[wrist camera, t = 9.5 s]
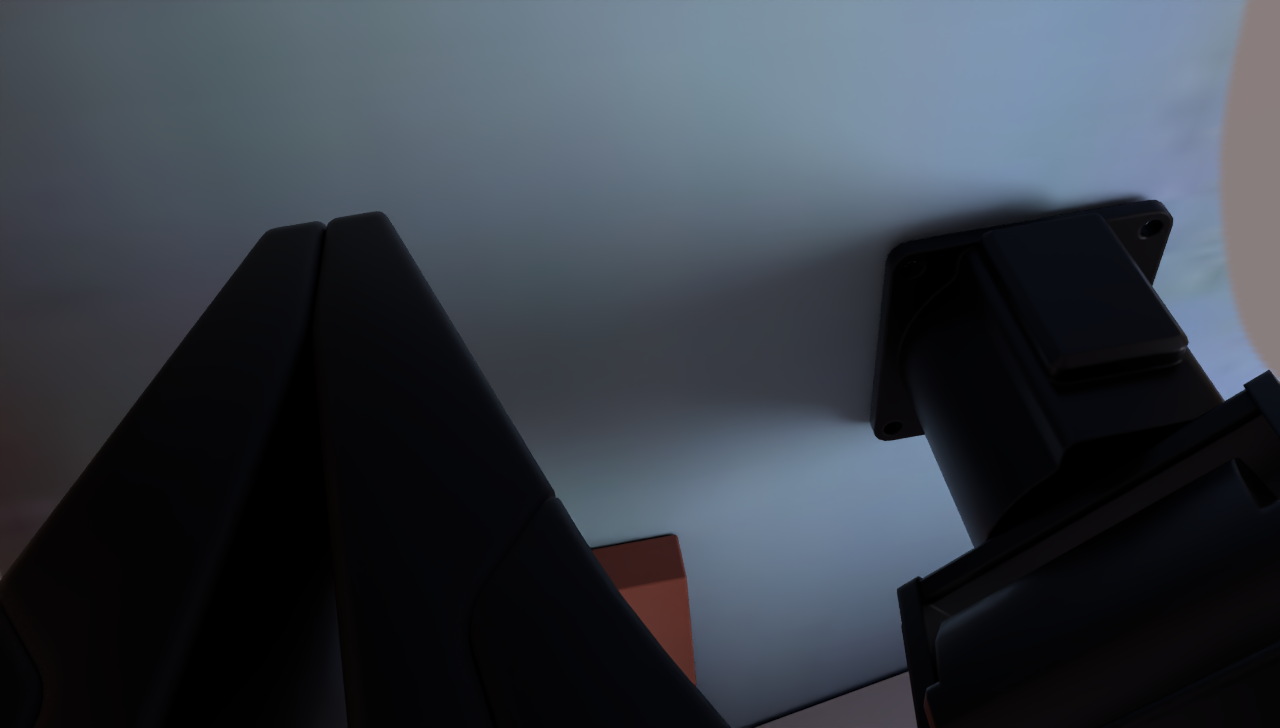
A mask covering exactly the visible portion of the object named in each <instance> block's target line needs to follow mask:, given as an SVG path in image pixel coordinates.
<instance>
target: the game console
mask: <svg viewBox="0 0 1280 728" xmlns="http://www.w3.org/2000/svg"><path fill="white" fill-rule="evenodd" d="M755 728H917V722H916V716H915V710H914V703H913V697H912V691H911V684H910V678H909V672H906V673H903V674H900V675H897V676H895V677H892V678H889V679H887V680H884V681H881V682H878V683H876V684H873V685H870V686H867V687H865V688H862V689H859V690H856V691H854V692H851V693H848V694H846V695H843V696H840V697H837V698H835V699H832V700H829V701H826V702H824V703H821V704H818V705H815V706H813V707H810V708H807V709H804V710H802V711H799V712H796V713H794V714H791V715H788V716H785V717H783V718H780V719H777V720H774V721H772V722H769V723H766V724H763V725H761V726H758V727H755Z"/></svg>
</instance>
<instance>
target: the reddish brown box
mask: <svg viewBox="0 0 1280 728" xmlns="http://www.w3.org/2000/svg"><path fill="white" fill-rule="evenodd" d="M592 552H593V553H594V555H595V556H596V558H597V559H598V561H599V562H600V564H601V565H602V567H603V568H604V570H605V571H606V573H607V574H608V576H609V577H610V579H611V580H612V582H613V583H614V585H615V586H616V588H617V589H618V591H619V592H620V593H621V595H622V596H623V597H624V598H625V600H626V601H627V602H628V604H629V605H630V606H631V607H632V609H633V610H634V611H635V613H636V614H637V615H638V616H639V618H640V619H641V620H642V622H643V623H644V624H645V625H646V627H647V628H648V629H649V631H650V632H651V633H652V634H653V636H654V637H655V638H656V639H657V641H658V642H659V643H660V645H661V646H662V647H663V648H664V650H665V651H666V652H667V653H668V655H669V656H670V657H671V658H672V659H673V660H674V662H675V663H676V664H677V665H678V666H679V667H680V669H681V670H682V671H683V672H684V673H685V675H686V676H687V677H688V678H689V679H690V680H691V682H692V683H693V684H694V685H695V686H696V675H695V664H694V653H693V642H692V631H691V620H690V609H689V598H688V587H687V577H686V572H685V568H684V563H683V559H682V554H681V550H680V545H679V541H678V537H677V535H670V536H665V537H659V538H654V539H648V540H643V541H637V542H632V543H626V544H621V545H615V546H610V547H604V548H599V549H593V550H592ZM696 687H697V686H696Z"/></svg>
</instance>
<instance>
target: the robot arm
mask: <svg viewBox="0 0 1280 728" xmlns="http://www.w3.org/2000/svg"><path fill="white" fill-rule="evenodd" d="M1149 221H1150V222H1149ZM1147 222H1148V223H1147ZM1146 223H1147V224H1146ZM1172 225H1173V218H1172V216H1171V214H1170V213H1169V211H1168V210H1167V209H1166V207H1165V206H1164V205H1163V204H1162V203H1161V202H1159V201H1157V200H1147V201H1141V202H1135V203H1129V204H1124V205H1118V206H1112V207H1106V208H1100V209H1094V210H1088V211H1083V212H1077V213H1071V214H1065V215H1059V216H1053V217H1047V218H1042V219H1036V220H1030V221H1024V222H1018V223H1012V224H1006V225H1001V226H995V227H989V228H983V229H977V230H971V231H966V232H960V233H954V234H948V235H942V236H936V237H930V238H925V239H919V240H913V241H908V242H905V243H902V244H900V245H898V246H897V247H895V248H894V249H893V250H892V251H891V252H890V253H889V254H888V257H887V259H886V264H885V274H884V284H883V293H882V303H881V313H880V323H879V333H878V343H877V352H876V362H875V372H874V382H873V392H872V402H871V412H870V424H871V427H872V429H873V432H874V434H875V436H876V437H877V438H878V439H880V440H884V441H890V440H897V439H902V438H908V437H913V436H919V435H926V438H927V440H928V442H929V445H930V447H931V449H932V452H933V454H934V456H935V458H936V461H937V463H938V465H939V468H940V470H941V472H942V475H943V477H944V479H945V481H946V484H947V486H948V488H949V491H950V493H951V495H952V497H953V500H954V502H955V504H956V507H957V509H958V511H959V514H960V516H961V518H962V520H963V523H964V525H965V527H966V530H967V532H968V534H969V536H970V539H971V541H972V543H973V546H974V549H972V550H970V551H969V552H967V553H965V554H963V555H962V556H960V557H958V558H957V559H955V560H953V561H951V562H950V563H948V564H946V565H945V566H943V567H941V568H940V569H938V570H936V571H934V572H933V573H931V574H929V575H928V576H926V577H924V578H921V577H919V576H918V577H916V578H914V579H913V580H911V581H909V582H907V583H906V584H904V585H902V586H901V587H899V588H898V589H897V595H898V601H899V608H900V614H901V621H902V626H901V627H902V634H903V640H904V646H905V653H906V659H907V665H908V672H909V678H910V684H911V691H912V697H913V703H914V710H915V716H916V722H917V728H1280V382H1279V381H1278V380H1277V379H1276V377H1275V376H1274V375H1273V374H1272V372H1271V371H1270V370H1268V371H1266V372H1264V373H1263V374H1261V375H1259V376H1258V377H1256V378H1254V379H1252V380H1251V381H1249V382H1247V383H1246V384H1244V385H1243V386H1244V387H1245V390H1243V391H1241V392H1240V393H1238V394H1236V395H1235V396H1233V397H1231V398H1230V399H1228V400H1226V401H1224V399H1223V398H1222V397H1221V395H1220V394H1219V392H1218V391H1217V389H1216V388H1215V386H1214V385H1213V383H1212V382H1211V380H1210V379H1209V378H1208V376H1207V375H1206V373H1205V372H1204V370H1203V369H1202V367H1201V366H1200V364H1199V363H1198V362H1197V360H1196V359H1195V357H1194V356H1193V354H1192V353H1191V351H1190V350H1189V348H1188V347H1187V345H1188V343H1189V342H1188V339H1187V336H1186V335H1185V333H1184V332H1183V330H1182V329H1181V327H1180V326H1179V325H1178V323H1177V322H1176V320H1175V319H1174V317H1173V316H1172V314H1171V313H1170V312H1169V310H1168V309H1167V307H1166V306H1165V304H1164V303H1163V301H1162V300H1161V299H1160V297H1159V296H1158V294H1157V293H1156V291H1155V290H1154V288H1153V287H1152V285H1153V282H1154V279H1155V276H1156V273H1157V270H1158V267H1159V264H1160V261H1161V258H1162V255H1163V252H1164V249H1165V246H1166V243H1167V240H1168V237H1169V234H1170V231H1171V228H1172ZM913 261H916V262H914V263H913V264H912V265H909V266H907V267H905V266H906V265H907V264H908V263H910V262H913ZM0 728H731V727H730V726H729V725H728V724H727V723H726V722H725V720H724V719H723V718H722V717H721V716H720V714H719V713H718V712H717V711H716V710H715V709H714V707H713V706H712V705H711V704H710V703H709V702H708V700H707V699H706V698H705V697H704V696H703V695H702V693H701V692H700V691H699V690H698V689H697V687H696V686H695V685H694V684H693V683H692V682H691V680H690V679H689V678H688V677H687V676H686V675H685V673H684V672H683V671H682V670H681V669H680V667H679V666H678V665H677V664H676V663H675V662H674V660H673V659H672V658H671V657H670V656H669V655H668V653H667V652H666V651H665V650H664V648H663V647H662V646H661V645H660V643H659V642H658V641H657V639H656V638H655V637H654V636H653V634H652V633H651V632H650V631H649V629H648V628H647V627H646V625H645V624H644V623H643V622H642V620H641V619H640V618H639V616H638V615H637V614H636V613H635V611H634V610H633V609H632V607H631V606H630V605H629V604H628V602H627V601H626V600H625V598H624V597H623V596H622V595H621V593H620V592H619V591H618V589H617V588H616V586H615V585H614V583H613V582H612V580H611V579H610V577H609V576H608V574H607V573H606V571H605V570H604V568H603V567H602V565H601V564H600V562H599V561H598V559H597V558H596V556H595V555H594V553H593V552H592V550H591V549H590V547H589V546H588V544H587V543H586V541H585V540H584V538H583V537H582V535H581V533H580V532H579V530H578V528H577V527H576V525H575V524H574V522H573V520H572V519H571V517H570V515H569V514H568V512H567V510H566V509H565V507H564V505H563V504H562V502H561V501H560V499H558V498H556V497H555V492H554V490H553V488H552V487H551V485H550V483H549V482H548V480H547V478H546V477H545V475H544V473H543V472H542V470H541V469H540V467H539V465H538V464H537V462H536V460H535V459H534V457H533V455H532V454H531V452H530V450H529V449H528V447H527V445H526V444H525V442H524V441H523V439H522V437H521V436H520V434H519V432H518V431H517V429H516V427H515V426H514V424H513V422H512V421H511V419H510V417H509V416H508V414H507V413H506V411H505V409H504V408H503V406H502V404H501V403H500V401H499V399H498V398H497V396H496V394H495V393H494V391H493V389H492V388H491V386H490V385H489V383H488V381H487V380H486V378H485V376H484V375H483V373H482V371H481V370H480V368H479V366H478V365H477V363H476V361H475V360H474V358H473V357H472V355H471V353H470V352H469V350H468V348H467V347H466V345H465V343H464V342H463V340H462V338H461V337H460V335H459V333H458V332H457V330H456V329H455V327H454V325H453V324H452V322H451V320H450V319H449V317H448V315H447V314H446V312H445V310H444V309H443V307H442V305H441V304H440V302H439V301H438V299H437V297H436V296H435V294H434V292H433V291H432V289H431V287H430V286H429V284H428V282H427V281H426V279H425V277H424V276H423V274H422V273H421V271H420V269H419V268H418V266H417V264H416V263H415V261H414V259H413V258H412V256H411V254H410V253H409V251H408V249H407V248H406V246H405V245H404V243H403V241H402V240H401V238H400V236H399V235H398V233H397V231H396V230H395V228H394V226H393V225H392V223H391V221H390V220H389V218H388V217H387V216H386V215H385V214H384V213H382V212H379V211H375V212H369V213H363V214H357V215H351V216H345V217H339V218H335V219H333V220H331V221H330V222H329V223H328V225H327V226H326V225H325V224H323V223H321V222H319V221H314V222H308V223H302V224H296V225H290V226H284V227H278V228H274V229H270V230H269V231H267V232H266V233H265V234H264V235H263V236H262V237H261V238H260V239H259V241H258V242H257V243H256V245H255V246H254V247H253V249H252V250H251V251H250V252H249V254H248V255H247V256H246V258H245V259H244V260H243V262H242V263H241V264H240V266H239V267H238V268H237V270H236V271H235V272H234V274H233V275H232V276H231V277H230V279H229V280H228V281H227V283H226V284H225V285H224V287H223V288H222V289H221V291H220V292H219V293H218V295H217V296H216V297H215V299H214V300H213V301H212V303H211V304H210V305H209V306H208V308H207V309H206V310H205V312H204V313H203V314H202V316H201V317H200V318H199V320H198V321H197V322H196V324H195V325H194V326H193V328H192V329H191V330H190V331H189V333H188V334H187V335H186V337H185V338H184V339H183V341H182V342H181V343H180V345H179V346H178V347H177V349H176V350H175V351H174V353H173V354H172V355H171V356H170V358H169V359H168V360H167V362H166V363H165V364H164V366H163V367H162V368H161V370H160V371H159V372H158V374H157V375H156V376H155V378H154V379H153V380H152V382H151V383H150V384H149V385H148V387H147V388H146V389H145V391H144V392H143V393H142V395H141V396H140V397H139V399H138V400H137V401H136V403H135V404H134V405H133V407H132V408H131V409H130V410H129V412H128V413H127V414H126V416H125V417H124V418H123V420H122V421H121V422H120V424H119V425H118V426H117V428H116V429H115V430H114V432H113V433H112V434H111V435H110V437H109V438H108V439H107V441H106V442H105V443H104V445H103V446H102V447H101V449H100V450H99V451H98V453H97V454H96V455H95V457H94V458H93V459H92V460H91V462H90V463H89V464H88V466H87V467H86V468H85V470H84V471H83V472H82V474H81V475H80V476H79V478H78V479H77V480H76V482H75V483H74V484H73V486H72V487H71V488H70V489H69V491H68V492H67V493H66V495H65V496H64V497H63V499H62V500H61V501H60V503H59V504H58V505H57V507H56V508H55V509H54V511H53V512H52V513H51V514H50V516H49V517H48V518H47V520H46V521H45V522H44V524H43V525H42V526H41V528H40V529H39V530H38V532H37V533H36V534H35V536H34V537H33V538H32V539H31V541H30V542H29V543H28V545H27V546H26V547H25V549H24V550H23V551H22V553H21V554H20V555H19V557H18V558H17V559H16V561H15V562H14V563H13V565H12V566H11V567H10V568H9V570H8V571H7V572H6V574H5V575H4V576H3V578H2V579H1V580H0Z"/></svg>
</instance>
